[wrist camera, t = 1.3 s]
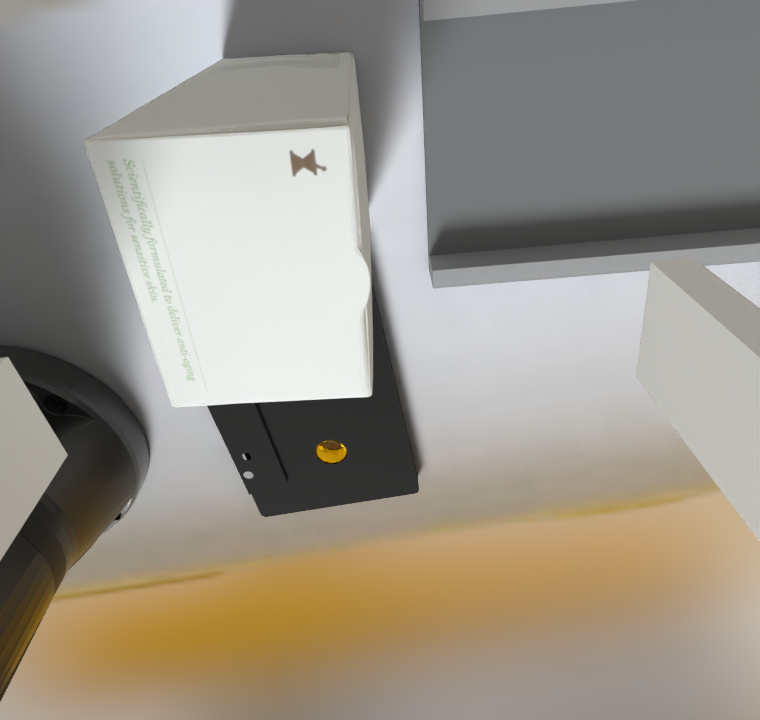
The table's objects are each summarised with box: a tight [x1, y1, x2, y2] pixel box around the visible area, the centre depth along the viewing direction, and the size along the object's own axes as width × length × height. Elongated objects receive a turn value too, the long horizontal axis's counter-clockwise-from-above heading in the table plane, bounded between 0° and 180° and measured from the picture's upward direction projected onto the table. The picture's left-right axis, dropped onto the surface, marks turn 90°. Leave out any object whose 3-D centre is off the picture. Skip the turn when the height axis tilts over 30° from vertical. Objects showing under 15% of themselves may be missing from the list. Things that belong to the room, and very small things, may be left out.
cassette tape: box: [207, 283, 419, 517], centre depth 35 cm, size 18×12×2 cm, turn 12°
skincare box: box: [83, 52, 373, 407], centre depth 21 cm, size 8×7×16 cm
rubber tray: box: [419, 0, 760, 288], centre depth 26 cm, size 22×13×2 cm, turn 95°
